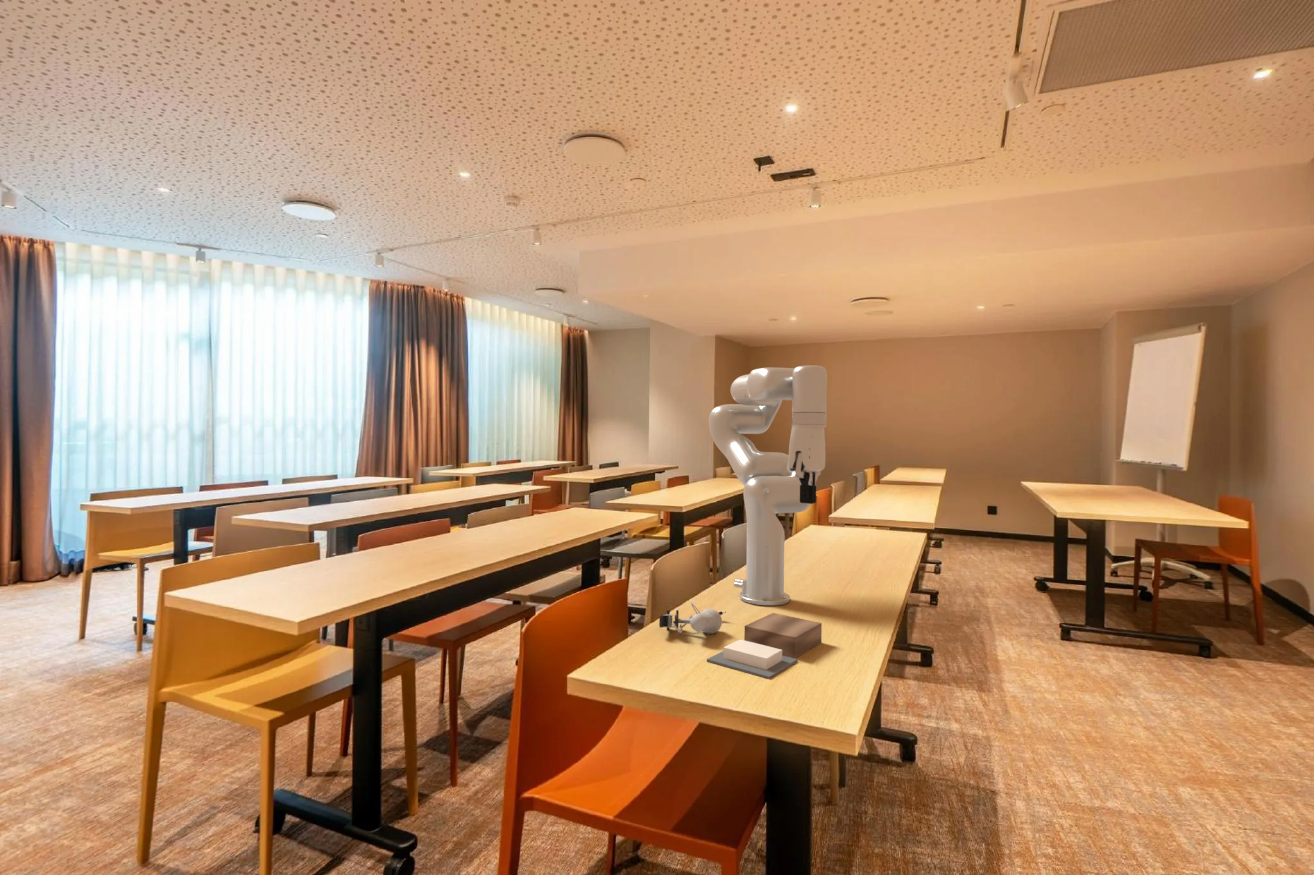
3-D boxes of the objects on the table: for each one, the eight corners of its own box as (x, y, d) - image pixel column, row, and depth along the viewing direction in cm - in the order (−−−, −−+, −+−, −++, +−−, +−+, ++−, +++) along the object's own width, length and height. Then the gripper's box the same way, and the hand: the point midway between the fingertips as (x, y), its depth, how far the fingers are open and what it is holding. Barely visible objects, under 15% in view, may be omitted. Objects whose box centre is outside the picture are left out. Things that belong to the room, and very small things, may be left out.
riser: (744, 645, 125) (744, 625, 125) (772, 631, 135) (773, 612, 135) (795, 658, 118) (795, 637, 118) (821, 642, 128) (821, 623, 128)
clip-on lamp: (686, 629, 145) (653, 634, 129) (686, 601, 147) (654, 602, 131) (735, 632, 140) (707, 636, 124) (734, 602, 142) (707, 603, 126)
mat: (706, 661, 116) (706, 659, 116) (737, 646, 125) (737, 644, 125) (769, 679, 108) (769, 676, 108) (797, 661, 117) (797, 659, 117)
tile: (740, 639, 122) (740, 649, 122) (723, 647, 117) (723, 658, 117) (782, 649, 116) (782, 660, 116) (766, 658, 112) (766, 669, 112)
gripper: (807, 421, 149) (806, 499, 149) (778, 420, 137) (777, 504, 137) (838, 421, 144) (837, 501, 144) (810, 420, 132) (809, 507, 132)
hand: (807, 502), depth 140 cm, fingers closed
